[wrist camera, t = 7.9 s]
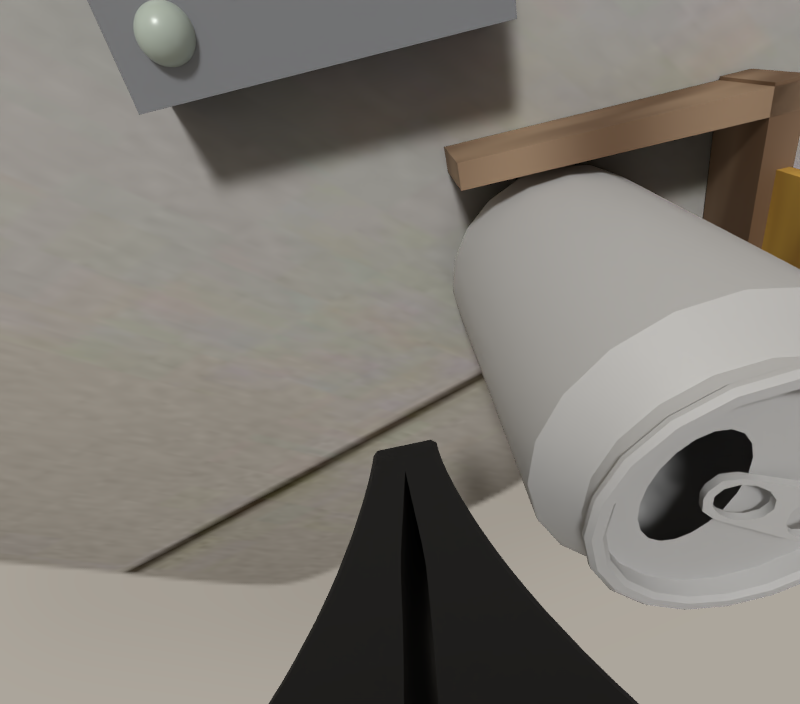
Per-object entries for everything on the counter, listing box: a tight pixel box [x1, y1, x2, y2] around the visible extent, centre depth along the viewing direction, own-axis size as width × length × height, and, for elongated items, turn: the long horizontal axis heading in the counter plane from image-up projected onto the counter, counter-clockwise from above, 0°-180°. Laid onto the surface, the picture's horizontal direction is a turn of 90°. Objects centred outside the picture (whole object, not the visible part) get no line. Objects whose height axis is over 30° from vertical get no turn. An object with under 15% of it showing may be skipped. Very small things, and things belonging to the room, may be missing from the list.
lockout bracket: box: [444, 69, 800, 269], centre depth 16 cm, size 10×8×6 cm
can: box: [453, 165, 800, 610], centre depth 14 cm, size 8×8×12 cm
